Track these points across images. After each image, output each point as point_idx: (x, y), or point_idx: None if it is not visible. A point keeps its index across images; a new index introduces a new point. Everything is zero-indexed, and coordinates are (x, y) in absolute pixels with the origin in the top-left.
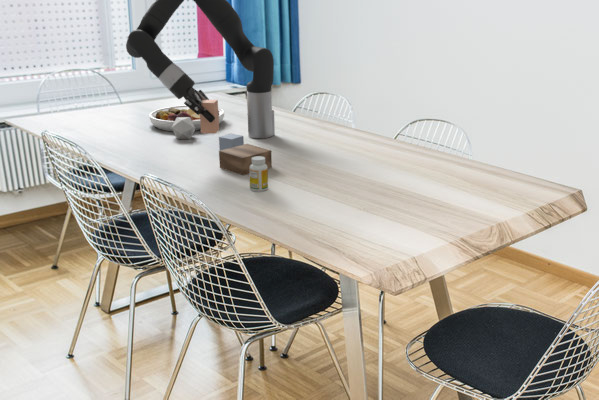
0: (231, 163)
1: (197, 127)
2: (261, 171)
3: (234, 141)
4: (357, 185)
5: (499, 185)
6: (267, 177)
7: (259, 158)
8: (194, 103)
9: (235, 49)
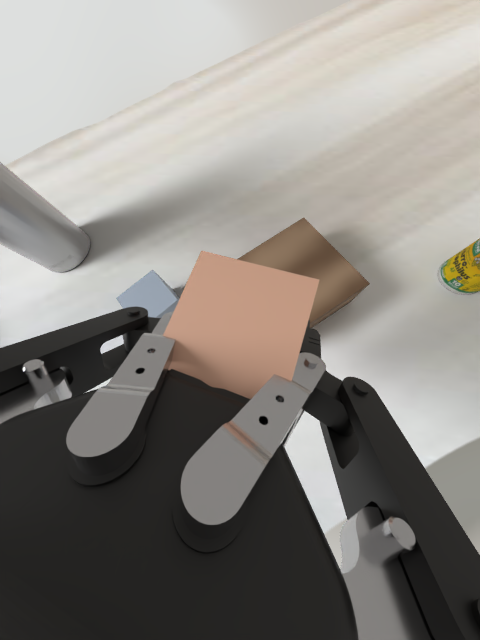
0: (322, 318)
1: None
2: None
3: (174, 295)
4: (428, 129)
5: (426, 2)
6: None
7: None
8: (434, 494)
9: None
